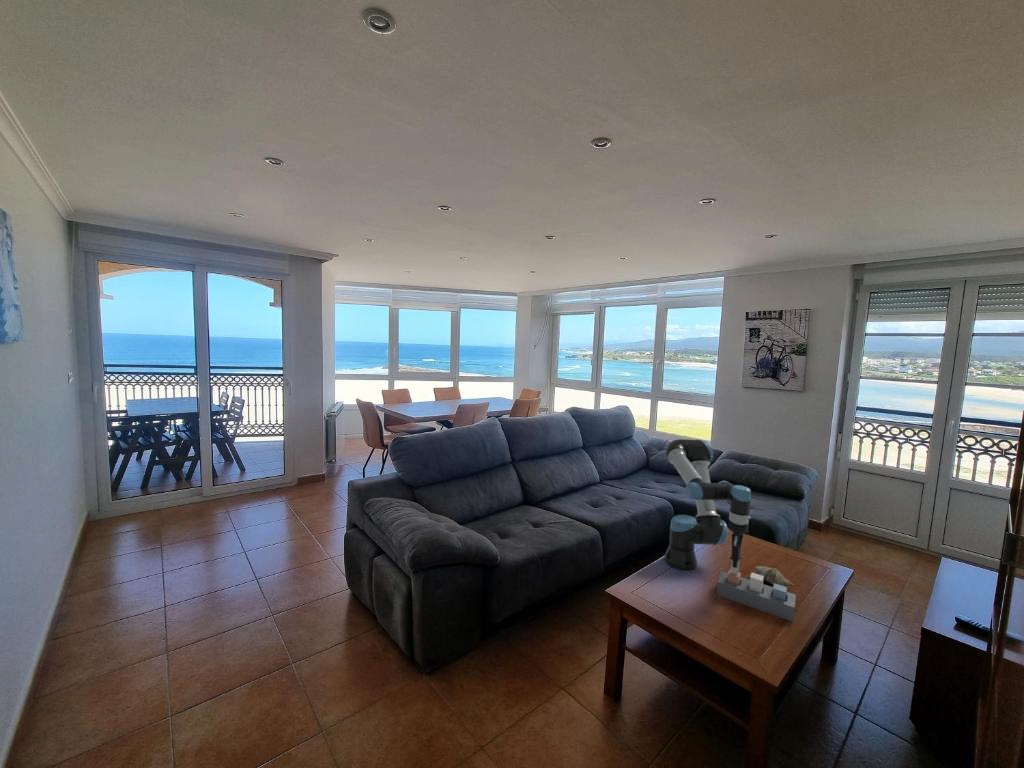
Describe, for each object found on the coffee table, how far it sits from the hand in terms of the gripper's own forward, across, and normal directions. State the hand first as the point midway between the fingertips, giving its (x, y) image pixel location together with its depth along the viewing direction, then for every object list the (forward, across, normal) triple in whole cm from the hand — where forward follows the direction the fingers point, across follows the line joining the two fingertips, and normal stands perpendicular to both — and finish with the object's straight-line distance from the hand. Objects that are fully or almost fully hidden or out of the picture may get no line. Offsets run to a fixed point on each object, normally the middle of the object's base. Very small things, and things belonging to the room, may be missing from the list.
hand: (734, 573), depth 181 cm
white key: (+6, 0, -8) cm, 10 cm away
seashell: (+10, +19, -13) cm, 25 cm away
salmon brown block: (+7, 0, 0) cm, 7 cm away
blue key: (+7, 0, -17) cm, 18 cm away
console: (+10, 0, -8) cm, 13 cm away
